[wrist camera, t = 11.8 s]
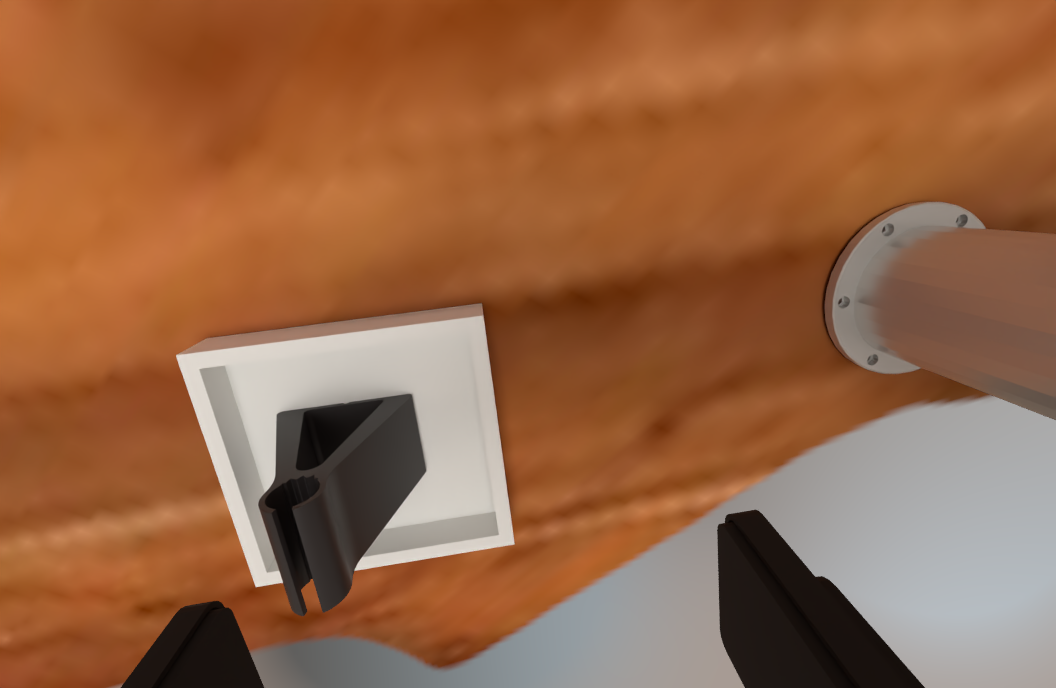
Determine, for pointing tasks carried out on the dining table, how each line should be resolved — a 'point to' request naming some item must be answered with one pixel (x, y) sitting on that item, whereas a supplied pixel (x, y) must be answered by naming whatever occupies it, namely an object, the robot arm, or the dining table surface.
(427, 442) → the tray
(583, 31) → the dining table surface
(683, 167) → the dining table surface
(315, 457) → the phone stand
